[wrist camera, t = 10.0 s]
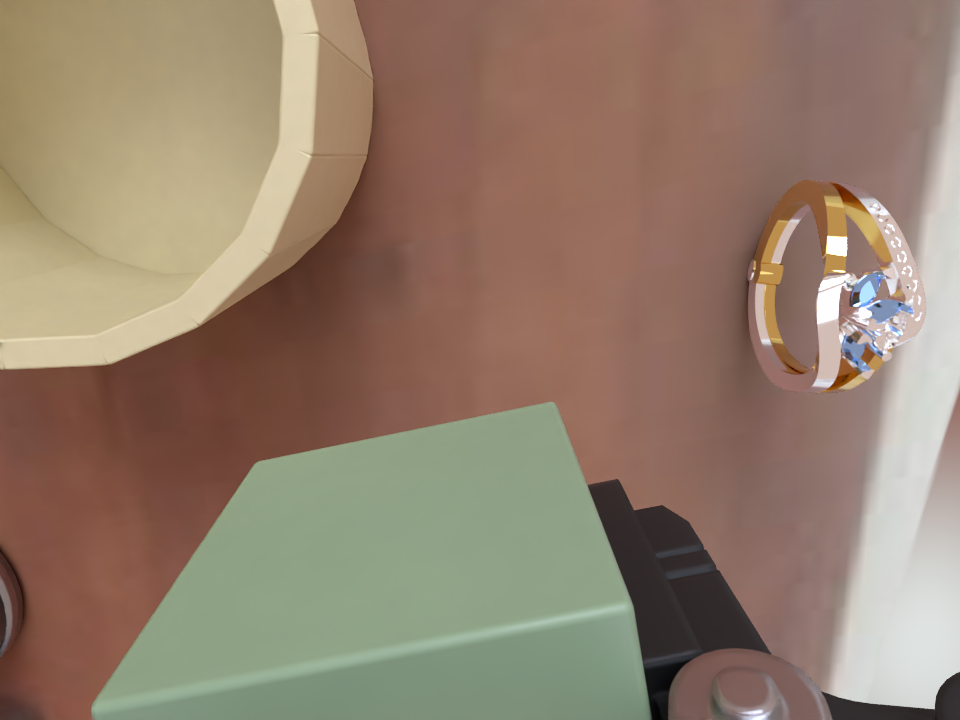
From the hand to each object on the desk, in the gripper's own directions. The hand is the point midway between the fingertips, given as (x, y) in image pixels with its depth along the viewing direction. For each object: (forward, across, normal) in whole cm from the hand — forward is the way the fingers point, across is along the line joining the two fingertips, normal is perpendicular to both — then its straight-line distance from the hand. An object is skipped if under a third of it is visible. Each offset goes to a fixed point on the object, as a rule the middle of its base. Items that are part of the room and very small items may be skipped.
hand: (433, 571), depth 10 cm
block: (0, 0, 0) cm, 0 cm away
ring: (+17, -12, +1) cm, 21 cm away
